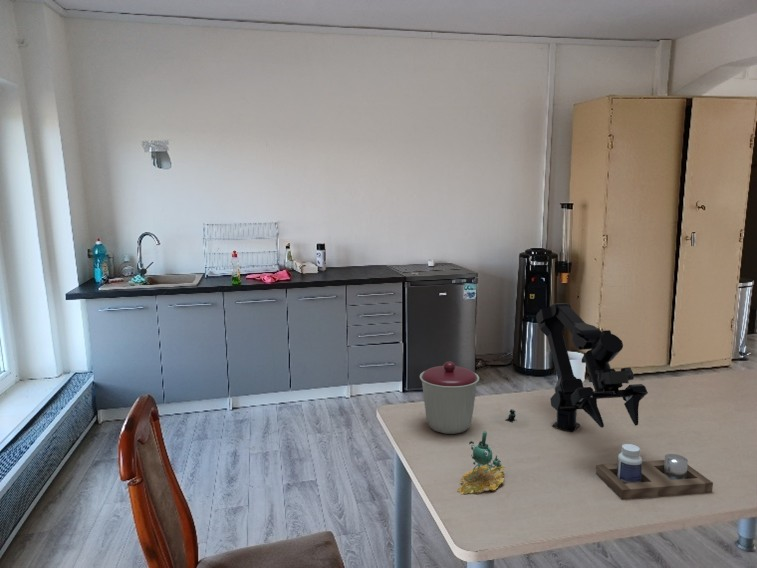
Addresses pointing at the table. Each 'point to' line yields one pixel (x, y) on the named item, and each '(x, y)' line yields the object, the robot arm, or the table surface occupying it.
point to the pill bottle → (629, 464)
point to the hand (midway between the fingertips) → (619, 426)
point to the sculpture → (511, 416)
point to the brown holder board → (653, 482)
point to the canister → (449, 397)
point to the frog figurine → (482, 470)
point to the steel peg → (675, 467)
